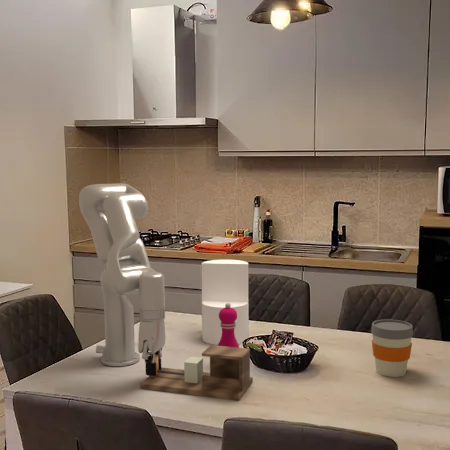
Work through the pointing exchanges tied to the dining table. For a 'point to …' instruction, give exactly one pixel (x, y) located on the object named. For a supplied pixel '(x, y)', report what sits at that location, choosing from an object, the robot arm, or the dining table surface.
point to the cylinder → (224, 298)
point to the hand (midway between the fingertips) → (153, 372)
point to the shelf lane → (210, 375)
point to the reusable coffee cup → (391, 346)
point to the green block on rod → (186, 369)
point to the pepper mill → (228, 326)
